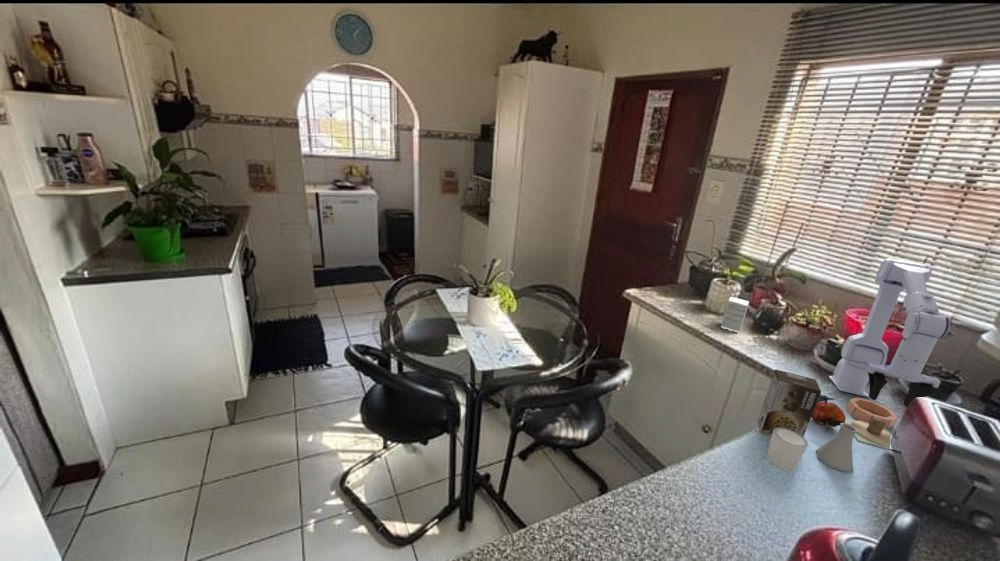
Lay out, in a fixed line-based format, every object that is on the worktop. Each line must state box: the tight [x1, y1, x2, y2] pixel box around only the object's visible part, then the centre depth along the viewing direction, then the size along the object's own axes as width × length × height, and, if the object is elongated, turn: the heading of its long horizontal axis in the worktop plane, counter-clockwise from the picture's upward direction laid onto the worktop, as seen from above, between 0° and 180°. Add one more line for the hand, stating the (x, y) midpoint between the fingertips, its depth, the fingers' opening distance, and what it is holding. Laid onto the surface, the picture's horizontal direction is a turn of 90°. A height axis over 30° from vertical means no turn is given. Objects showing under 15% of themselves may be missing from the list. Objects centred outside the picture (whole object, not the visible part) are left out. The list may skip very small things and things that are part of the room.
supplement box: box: [720, 296, 750, 332], centre depth 172 cm, size 7×7×13 cm
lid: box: [851, 417, 892, 446], centre depth 110 cm, size 9×9×4 cm
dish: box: [845, 397, 898, 430], centre depth 119 cm, size 10×10×3 cm
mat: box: [845, 417, 891, 450], centre depth 111 cm, size 10×10×1 cm
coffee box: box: [756, 369, 822, 438], centre depth 105 cm, size 9×6×16 cm
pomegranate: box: [811, 398, 846, 434], centre depth 112 cm, size 7×7×10 cm
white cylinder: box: [767, 428, 809, 471], centre depth 96 cm, size 7×7×7 cm
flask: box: [815, 423, 858, 473], centre depth 97 cm, size 7×7×10 cm
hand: (889, 402), depth 109 cm, fingers open, 7 cm apart
